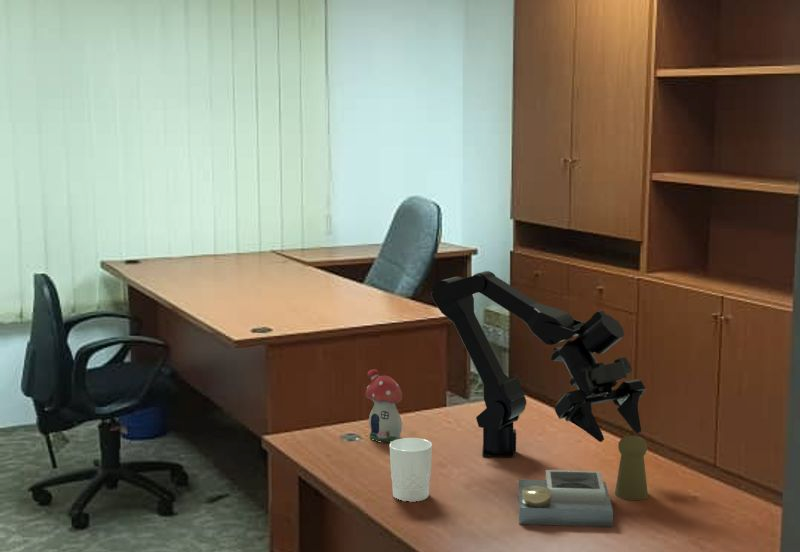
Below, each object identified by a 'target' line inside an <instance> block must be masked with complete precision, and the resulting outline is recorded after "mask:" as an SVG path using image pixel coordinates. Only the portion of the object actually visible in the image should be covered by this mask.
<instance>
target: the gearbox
mask: <svg viewBox="0 0 800 552" xmlns="http://www.w3.org/2000/svg"><path fill="white" fill-rule="evenodd" d="M517 488H518V493H517V495H518V525H535V526H536V525H540V526H541V525H542V526H569V527H570V526H571V527H572V526H573V527H574V526H575V527H599V528H601V527H602V528H607V527H608V528H612V527H613V522H614V521H613V520H614V519H613V515H614V510H613V505H612V501H611V497H610V494H609V490H608V486H607V482H606V481H603V476H602V472H601V471H597V470H594V471H593V470H569V469H568V470H566V469H565V470H564V469H561V470H560V469H559V470H558V469H545V479H520V478H519V479H518V487H517Z"/></svg>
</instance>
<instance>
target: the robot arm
mask: <svg viewBox="0 0 800 552" xmlns="http://www.w3.org/2000/svg"><path fill="white" fill-rule="evenodd" d="M478 293H479V294H482V295H483V296H485V297H486V298H488V299H489V300H491V301H492V302H494V304H496V305H499V306H500V307H502V308H503V309H505V310H506V311H508V312H509V313H511V314H512V315H514V316H516V317H517V318H518V319H520V320H522V321H523V322H524V323H525V324H526V325H527V327H528V329H530V332H531V333H532V334H533V335H534V336H535V337H537V338H538V340H540V341H541V342H542V343H544V344H545V345H547V346H548V345H549V346H551V345H556V344H559V343H561V342H564V341H566V342H565V343H563V344H562V346H560V347H558V346H555V347H554V348H553V353H552V354H551V357H550V360H551V361H554V362H563V363H564V365H565V367H566V369H567V371H568V373H569V375H570V376H571V379H570V380H569V384H570V386H571V387H574V386H576V387H577V390H571V391H566V392H565V393H564V394H563V395H562V397H561V398H559V400H558V401H557V402H556V403H555V405H554V408H555V409H554V412H555V413H556V415H557V417H558V419H559V420H562V419H564V420H565V421H566V422H571V423H572V424H573V425H575V426H577V427H578V428H580V429H582V430H583V431H585V432H586V433H587V434H588V435H589V436H592V437H593V438H594V439H595V440H597V442H600V443H602V442H603V441H604V440H605V437H604V435H603V432H602V429H601V428H600V426H599V424H598V422H597V420H596V418H595V416H594V414H593V411H592V405H596V404H597V405H598V404H602V403H606V402H612V401H613V404H614V405H615V406H617V407H618V408H617V412H618V413H619V414H620V416H621V417H622V418H623V419H624V420H625V421H626V423H627V424H628V425H629V426H630V429H632V430H633V432H635V433H636V435H639V434H640V433H641V432H642V427H641V420H640V413H639V400H640V398H641V397H643V394H644V393H645V391H646V390H647V388H646V387H645V384H644V383H643V381H642V380H641V379H638V378H635V379H631V380H625V381H622V382H621V384H620V385H619V386H618V387H617V388H616V389H613V387H615V386H617V384H618V382H617V381H619V380H622V379H628V378H629V377H628V374H630V373H632V371H633V370H632V366H631V363H630V362H629V360H628V359H627V357H626V356H624V357H618V358H617V359H614V360H613V363H606V364H605V363H603V362H598V361H597V359H596V357H595V356H594V354H598V355H602V354H604V353H605V352H606V351H608V350H609V349H610V348H612V346H614V345H615V344H617V342H619V341H620V340H621V339H623V338H624V336H625V331H624V329H623V327H622V325H621V323H620V322H619V321H618V320H616V319H615V318H613V316H611V315H608V314H607V313H605V311H604V310H603V309H600V310H597V311H596V312H595V313H593V315H592V316H591V317H590V319H588V320H587V321H586V322H584V321H582V320H578V319H575V318H573V316H572V315H571V314H570V313H569V312H566V311H563V310H561V309H559V308H556V307H554V306H549V305H545V304H542V303H540V302H537V301H535V300H534V299H532V298H531V297H529V296H528V295H527V294H524V293H523V292H521V291H520V290H518V289H516V288H515V287H513V286H512V285H510V284H509V283H507V282H506V281H504V280H502V279H501V278H499V277H498V276H497V275H495V274H494V273H493V272H491V271H490V270H485V271H484V270H483V271H482V272H481V271H480V272H477V273H475V274H473V275H471V276H468V277H465V278H463V277H461V276H454V277H450V278H446V279H442V280H438V281H437V282H436V283H434V285H433V287H432V291H431V293H430V295H431V299H432V301H433V302H434V304H435V305H436V307H437V309H438V310H439V311H440V312H441V314H442V315H444V316H445V317H446V318H447V319H448V320H449V321H451V322H452V323H453V325H454V327H455V329H456V331H457V333H458V335H459V337H460V339H461V341H462V344H463V345H464V347H465V350H466V353H468V356H469V358H470V359H471V361H472V364H473V366H474V367H475V370H476V372H477V374H478V376H479V379H481V382H482V385H483V386H482V387H483V390H482V391H483V393H482V394H483V401H484V404H485V408H484V410H482V412H480V413H479V414H478V415H477V416H475V419H476V422H477V425H478V428H482V430H483V431H482V450H481V451H482V455H481V456H482V457H491V458H492V457H494V458H495V457H496V458H499V457H500V458H514V457H515V454H514V453H515V452H516V451H517V429H515V428H514V423H515V422H517V421H518V420H519V417H520V415H521V414H523V413H524V411H525V410H526V406H527V404H528V403H527V400H526V396H527V392H525V390H524V389H523V388H522V385H521V381H520V380H519V378H518V377H514V378H512V379H511V378H510V377H509V376H508V375H506V373H505V372H504V370H503V368H502V366H501V364H500V362H499V361H498V358H497V357H496V354H495V352H494V350H493V348H492V346H491V344H490V343H489V340H488V338H487V336H486V334H485V332H484V330H483V328H482V326H481V324H480V321H479V320H478V317H477V316H476V314H475V298H474V295H475V294H478ZM575 337H576V338H575ZM572 338H575V339H573V340H570V339H572Z"/></svg>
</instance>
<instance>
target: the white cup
mask: <svg viewBox="0 0 800 552" xmlns="http://www.w3.org/2000/svg"><path fill="white" fill-rule="evenodd" d="M432 448H433V443H432V442H431V441H429V440H427V439H424V438H420V437H419V438H418V437H403V438H398V439H397V440H394V441H392V442H389V463H390V464H389V465H390V474H391V475H390V476H391V483H392V496H393V498H394V499H396V498H397V499H396V500H398V499H399V501H400V500H402V501H401V502H406V501H409V502H408V503H412V502H414V503H416V501H417V502H421V501H424V500H426V499H429V495H430V483H431V475H432V474H431V473H432V453H433V449H432Z"/></svg>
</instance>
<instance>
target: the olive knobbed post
mask: <svg viewBox="0 0 800 552" xmlns="http://www.w3.org/2000/svg"><path fill="white" fill-rule="evenodd" d="M647 444H648V443H647V441H646V440H645V439H644V438H642V437H640V436H637V435H628V436H627V435H626V436H624V437H622V438H620V440H619V442H618V452H619V453H620V458H619V467H618V471H617V478H616V483H615V490H614V494H615V496H616V497H618V498H620V499H621V500H622V499H623V500H627V501H641V500H645V499H647V498H648V496H649V495H648V494H649V492H648V485H647V483H648V482H647V474H646V473H647V472H646V465H645V464H646V463H645V455H646V454H647V451H648V445H647Z"/></svg>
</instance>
